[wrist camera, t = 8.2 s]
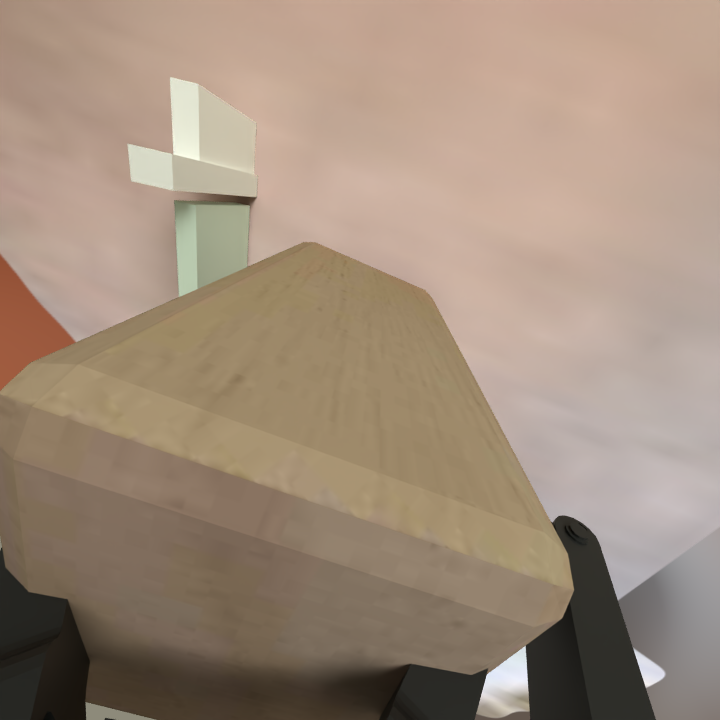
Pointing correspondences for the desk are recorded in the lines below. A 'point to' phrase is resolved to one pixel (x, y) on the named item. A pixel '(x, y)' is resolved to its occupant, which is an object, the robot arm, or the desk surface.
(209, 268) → the door
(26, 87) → the desk surface
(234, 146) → the l-shaped block
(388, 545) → the wooden block
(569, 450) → the desk surface
